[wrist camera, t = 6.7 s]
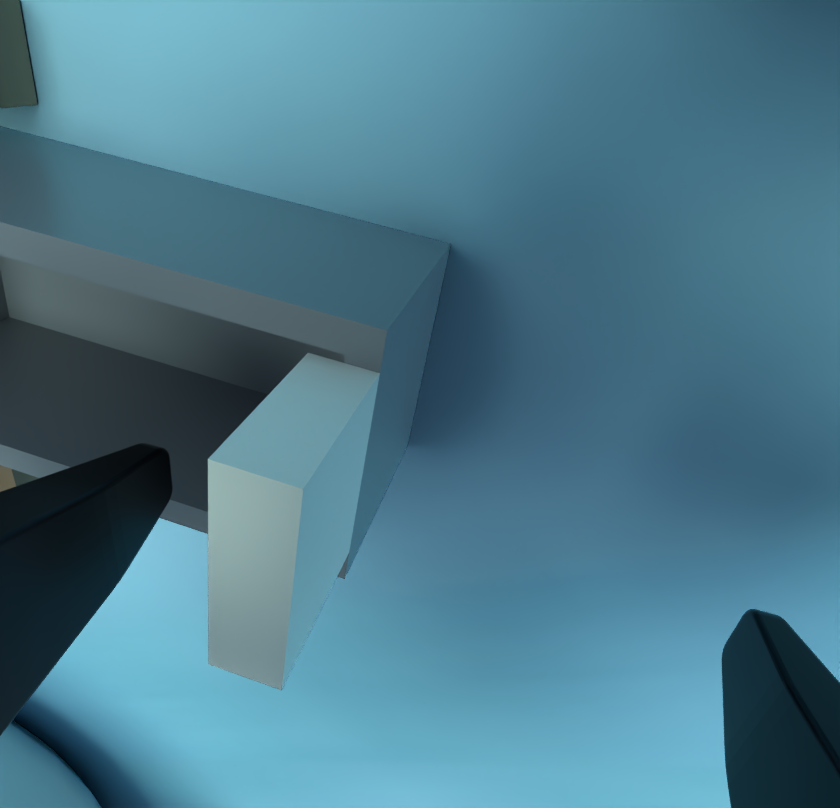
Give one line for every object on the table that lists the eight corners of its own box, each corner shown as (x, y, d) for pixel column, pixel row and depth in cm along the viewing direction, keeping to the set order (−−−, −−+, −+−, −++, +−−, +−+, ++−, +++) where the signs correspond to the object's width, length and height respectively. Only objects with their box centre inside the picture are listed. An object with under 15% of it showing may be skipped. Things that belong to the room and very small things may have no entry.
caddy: (452, 242, 13) (308, 437, 7) (409, 442, 16) (279, 718, 10) (-28, 116, 15) (-552, 174, 8) (11, 322, 18) (-348, 491, 11)
